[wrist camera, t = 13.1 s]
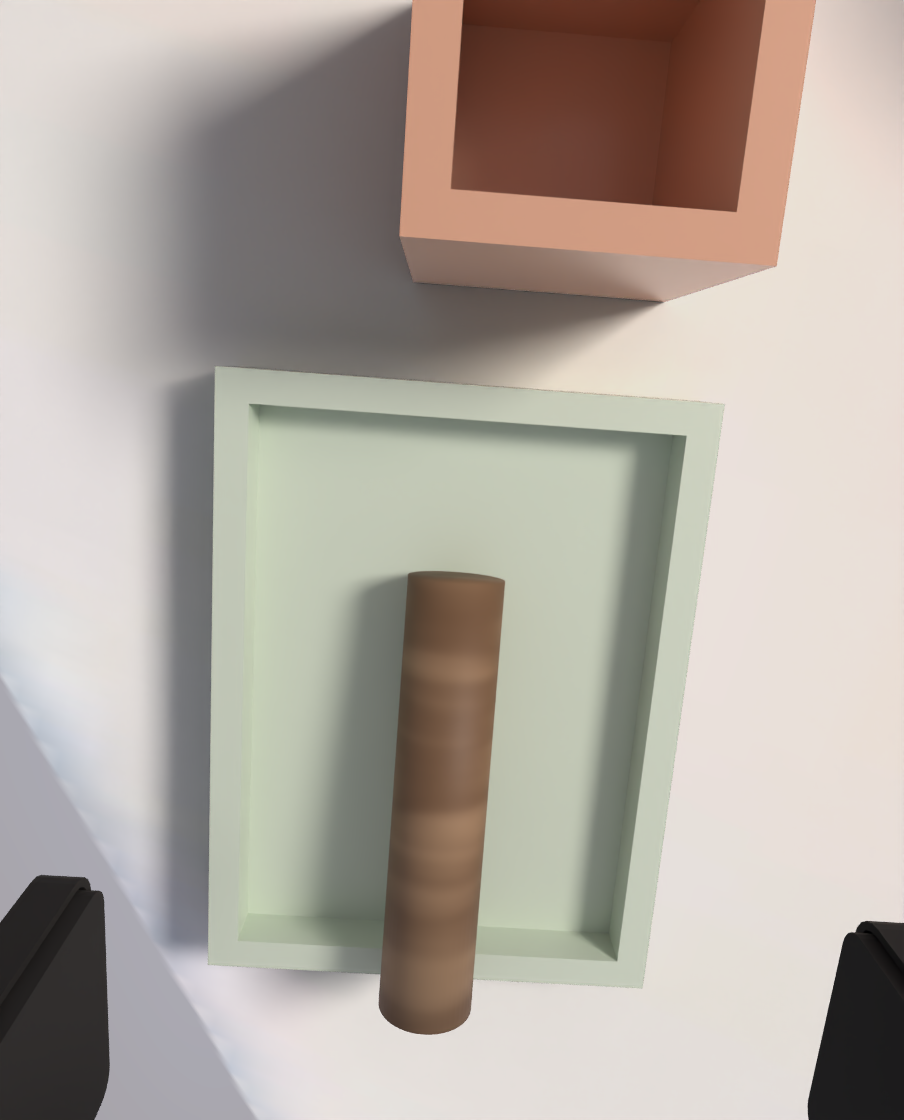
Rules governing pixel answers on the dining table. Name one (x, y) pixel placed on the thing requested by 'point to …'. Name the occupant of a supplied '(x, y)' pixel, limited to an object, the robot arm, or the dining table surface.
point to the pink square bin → (600, 142)
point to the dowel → (440, 798)
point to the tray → (377, 647)
